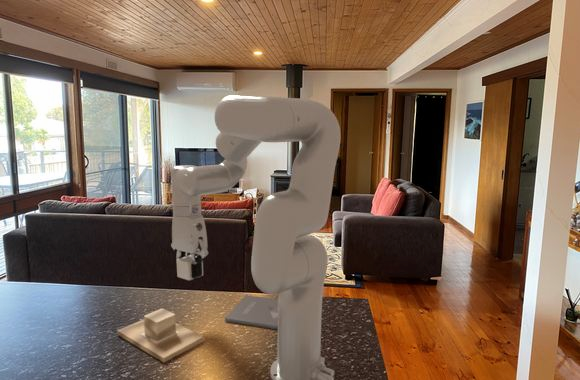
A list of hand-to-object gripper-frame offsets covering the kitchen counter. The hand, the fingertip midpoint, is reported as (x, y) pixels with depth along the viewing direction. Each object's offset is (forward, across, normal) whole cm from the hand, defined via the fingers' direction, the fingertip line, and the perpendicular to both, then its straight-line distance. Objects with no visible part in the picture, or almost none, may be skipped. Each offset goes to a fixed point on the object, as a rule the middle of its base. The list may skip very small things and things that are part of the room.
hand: (190, 273), depth 113 cm
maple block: (+12, -2, +12) cm, 17 cm away
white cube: (+1, 0, 0) cm, 1 cm away
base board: (+13, -2, +12) cm, 18 cm away
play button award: (+15, -14, -16) cm, 26 cm away
